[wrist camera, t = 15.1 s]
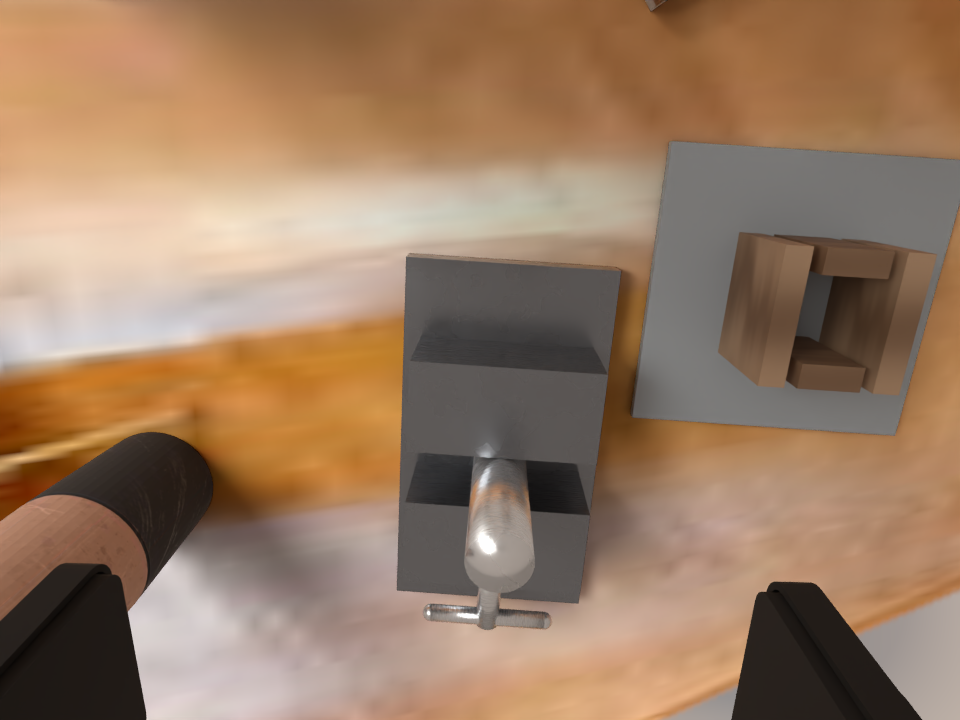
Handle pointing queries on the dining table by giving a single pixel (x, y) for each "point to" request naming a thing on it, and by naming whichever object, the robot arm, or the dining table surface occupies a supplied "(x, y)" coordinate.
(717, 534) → the dining table surface
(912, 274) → the collar
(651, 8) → the grey two-tier cabinet
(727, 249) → the mat
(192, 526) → the travel mug
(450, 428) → the vise
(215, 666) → the dining table surface
